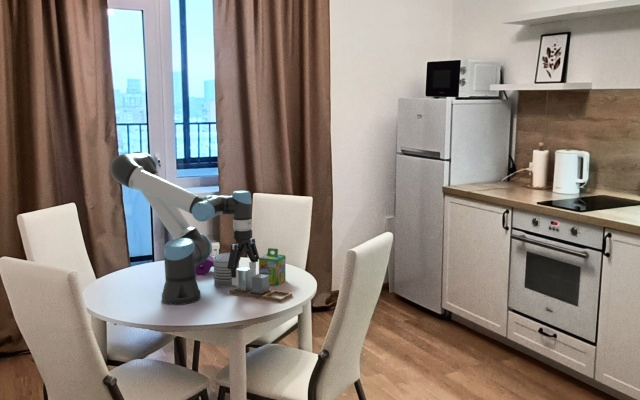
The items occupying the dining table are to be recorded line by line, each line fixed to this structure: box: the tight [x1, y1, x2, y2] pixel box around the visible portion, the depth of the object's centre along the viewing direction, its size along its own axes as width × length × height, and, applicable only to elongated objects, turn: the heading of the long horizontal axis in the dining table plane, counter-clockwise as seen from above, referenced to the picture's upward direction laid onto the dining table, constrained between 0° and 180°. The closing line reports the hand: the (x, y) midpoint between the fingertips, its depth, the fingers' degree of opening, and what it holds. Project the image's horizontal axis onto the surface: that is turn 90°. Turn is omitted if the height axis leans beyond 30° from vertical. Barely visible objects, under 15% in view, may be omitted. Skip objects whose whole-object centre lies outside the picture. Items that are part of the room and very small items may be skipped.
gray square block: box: [252, 273, 270, 296], centre depth 248 cm, size 5×5×8 cm
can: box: [212, 252, 240, 288], centre depth 265 cm, size 11×11×12 cm
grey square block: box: [235, 266, 253, 293], centre depth 251 cm, size 5×5×10 cm
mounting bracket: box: [195, 255, 214, 277], centre depth 282 cm, size 10×8×18 cm
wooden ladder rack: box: [229, 287, 293, 303], centre depth 248 cm, size 9×25×1 cm, turn 62°
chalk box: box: [258, 247, 287, 287], centre depth 265 cm, size 9×9×15 cm
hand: (244, 281), depth 251 cm, fingers open, 12 cm apart
